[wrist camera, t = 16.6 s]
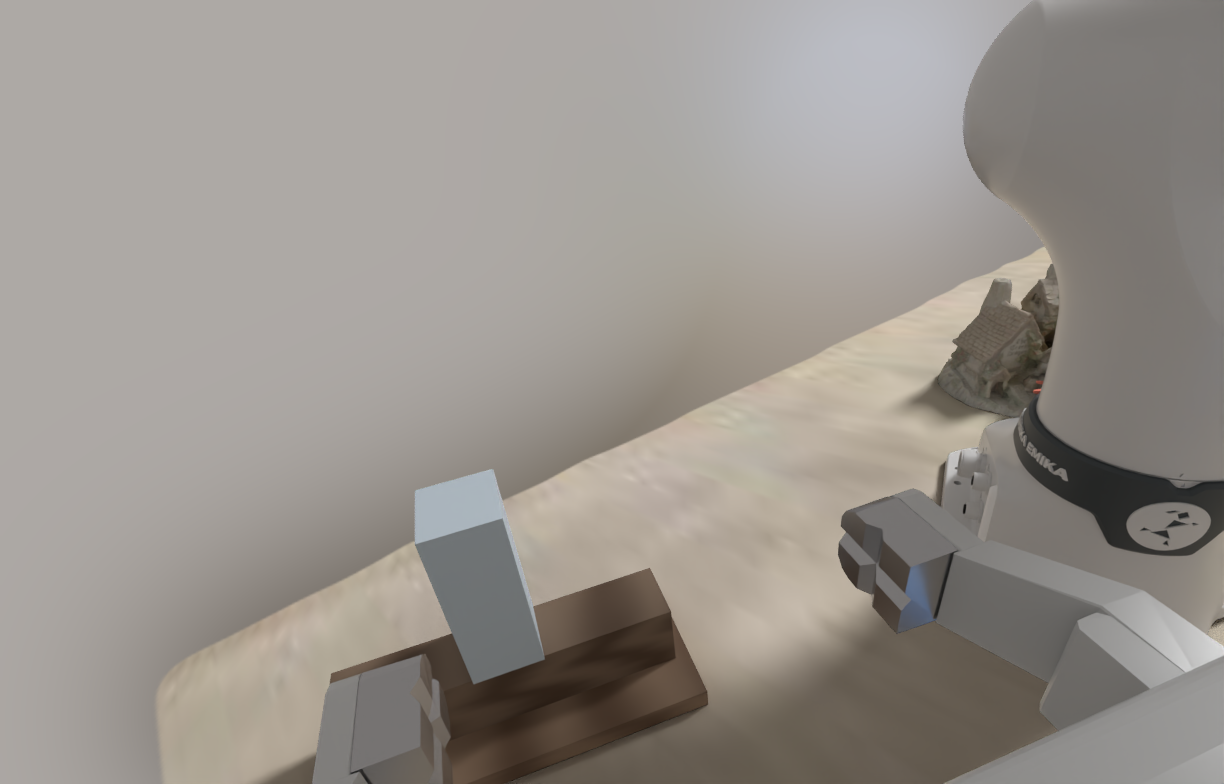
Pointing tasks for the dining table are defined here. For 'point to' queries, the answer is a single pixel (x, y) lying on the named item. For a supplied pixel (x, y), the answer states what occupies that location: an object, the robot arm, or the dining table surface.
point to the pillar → (477, 574)
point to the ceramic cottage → (1004, 349)
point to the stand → (565, 683)
